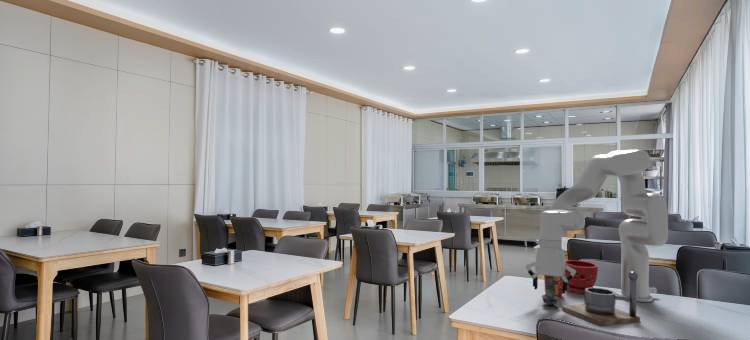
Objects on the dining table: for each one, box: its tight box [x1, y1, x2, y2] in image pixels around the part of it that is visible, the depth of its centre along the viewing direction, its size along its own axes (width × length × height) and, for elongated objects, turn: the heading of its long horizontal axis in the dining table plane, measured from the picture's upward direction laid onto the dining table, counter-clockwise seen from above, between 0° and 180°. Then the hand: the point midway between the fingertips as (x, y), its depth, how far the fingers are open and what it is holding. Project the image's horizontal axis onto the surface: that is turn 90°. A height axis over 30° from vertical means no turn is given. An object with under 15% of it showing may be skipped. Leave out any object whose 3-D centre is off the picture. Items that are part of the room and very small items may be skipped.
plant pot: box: [565, 259, 599, 295], centre depth 183 cm, size 13×13×12 cm
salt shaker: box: [541, 276, 560, 310], centre depth 160 cm, size 6×6×12 cm
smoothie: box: [543, 263, 566, 298], centre depth 175 cm, size 8×8×20 cm
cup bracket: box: [561, 271, 641, 327], centre depth 150 cm, size 17×17×16 cm
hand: (549, 290), depth 160 cm, fingers open, 9 cm apart
